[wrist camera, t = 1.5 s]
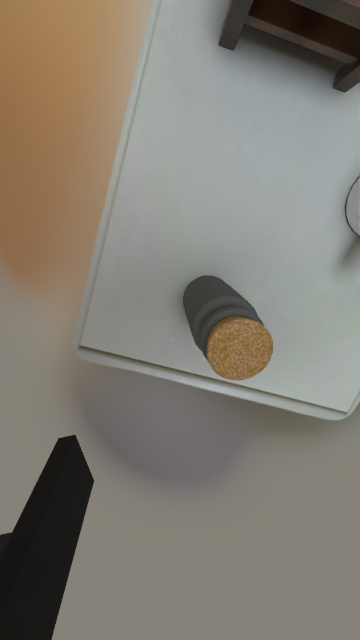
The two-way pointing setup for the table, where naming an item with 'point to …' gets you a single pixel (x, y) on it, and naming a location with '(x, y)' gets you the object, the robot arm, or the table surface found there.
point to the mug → (354, 207)
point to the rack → (304, 28)
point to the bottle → (226, 329)
